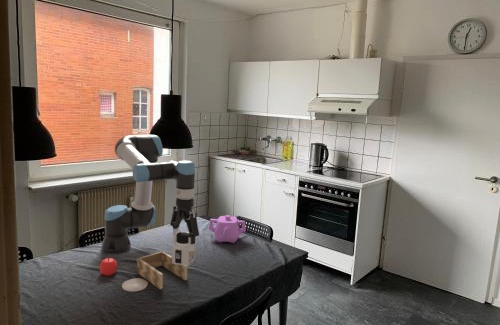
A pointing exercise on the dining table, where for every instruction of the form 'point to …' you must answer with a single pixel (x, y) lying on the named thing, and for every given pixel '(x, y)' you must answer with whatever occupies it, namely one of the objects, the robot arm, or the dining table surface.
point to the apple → (108, 266)
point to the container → (182, 250)
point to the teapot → (227, 228)
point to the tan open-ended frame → (154, 260)
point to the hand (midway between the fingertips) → (183, 246)
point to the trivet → (134, 285)
